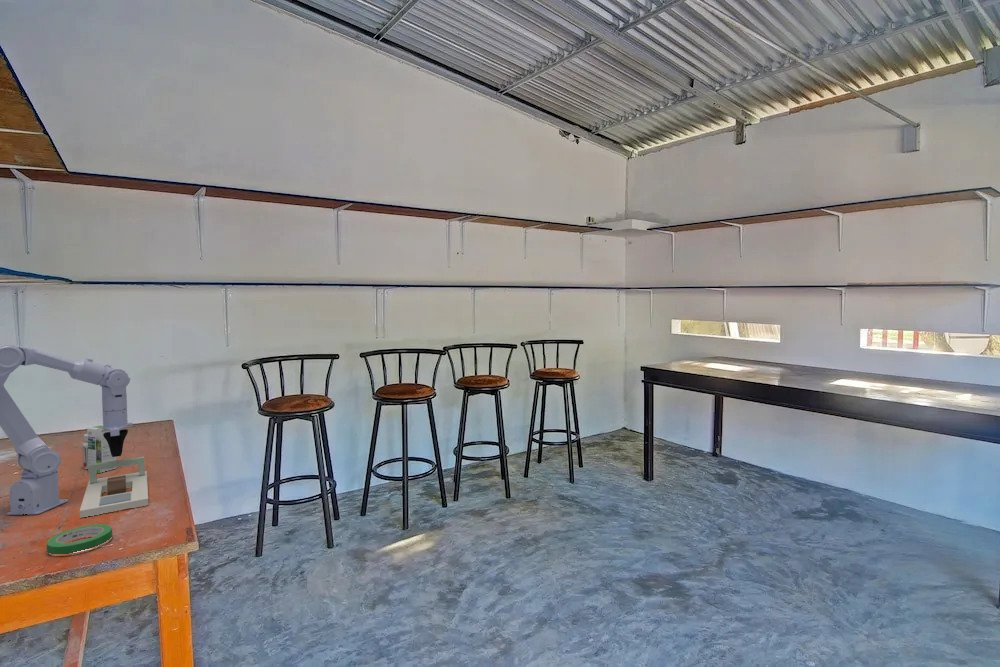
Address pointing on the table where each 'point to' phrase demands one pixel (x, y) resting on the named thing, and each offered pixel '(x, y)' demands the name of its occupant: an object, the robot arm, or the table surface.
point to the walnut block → (116, 485)
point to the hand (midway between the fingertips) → (116, 456)
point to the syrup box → (98, 447)
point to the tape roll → (59, 547)
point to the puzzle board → (114, 496)
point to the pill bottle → (85, 452)
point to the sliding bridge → (115, 464)
